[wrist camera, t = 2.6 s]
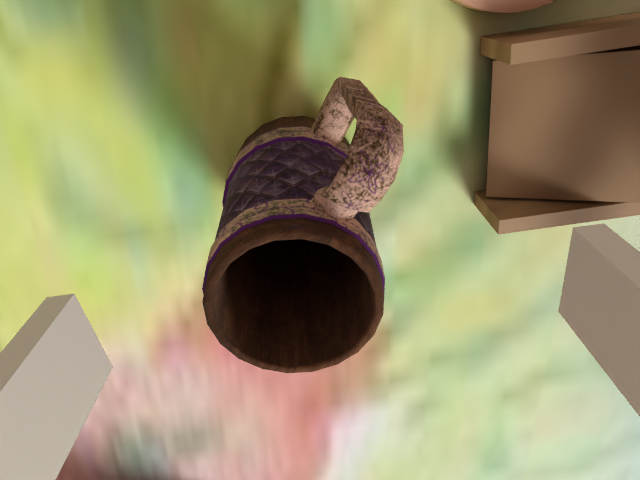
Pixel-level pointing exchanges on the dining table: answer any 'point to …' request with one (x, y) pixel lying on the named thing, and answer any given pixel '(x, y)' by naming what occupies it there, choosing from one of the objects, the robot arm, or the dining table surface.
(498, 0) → the pink disc
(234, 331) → the mug
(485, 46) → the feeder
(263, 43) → the dining table surface
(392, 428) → the dining table surface
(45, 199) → the dining table surface
